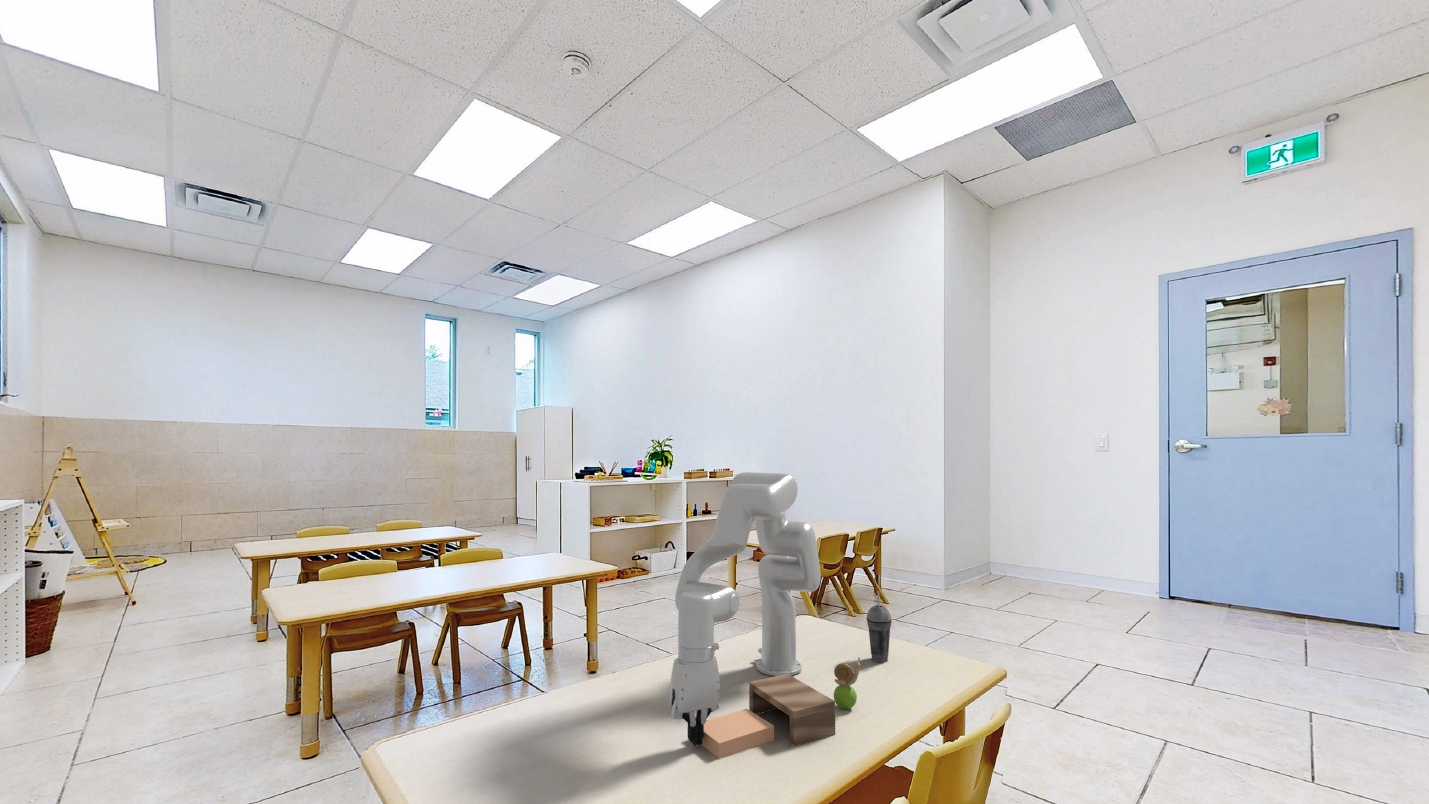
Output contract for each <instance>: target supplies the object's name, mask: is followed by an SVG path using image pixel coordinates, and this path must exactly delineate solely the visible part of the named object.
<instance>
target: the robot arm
mask: <svg viewBox="0 0 1429 804" xmlns="http://www.w3.org/2000/svg"><path fill="white" fill-rule="evenodd" d="M798 489H799V488H798V483H797V480H796V479H795V477H794V476H793V475H791V474H790V473H789V474H788V473H778V472H777V473H775V472H774V473H771V472H770V473H769V472H740V473H738V474H736V475H735V476H734V477H733V478H732V481H731V485H729V486H728V487H727V488H726V489H725V491H724V492H723V493H724V494H723V497H722V500H721V503H720V507H719V509H718V514H717V516H716V520H715V524H714V527H713V531H712V535H710V538H709V539H708V540H707V541H706V542H704V543H702V545H700V546H699V548H697V549H696V550H695V552H694V553H692V555H691V556H690V557H689V558H688V559H687V561H686V562H685V563H684V565H683V568H682V569H681V570H682V571H681V573H680V576H679V577H680V578H679V580H678V583H677V586H676V591H675V597H674V599H675V601H674V602H675V607H676V609H677V612H678V613H677V614H678V618H677V619H678V620H677V622H678V626H677V631H678V632H677V636H678V638H677V642H678V644H677V658H674V660H673V663H672V668H671V676H670V684H669V705H670V706H671V707H672V708H671V713H670V714H671V715H670V716H671V717H672V718H673V719H675V720H684V721H685V722H686V723H687V740H688V741H689V742H690V743H691V744H692V746H694V747H698V745H699V746H701V745H702V738H703V737H704V724H705V723H706V720H708V717H709V716H710V715H711V713H713V712H716V711H717V710H719V709H720V706H721V705H720V701H721V681H720V672H719V665H718V659H717V656H716V655H715V652H716V651H718V650H719V648H720V645H719V643H718V642H715V628H714V627H715V624H717V623H721V622H726V621H729V620H731V618H733V617H734V616H735V615H736V614H737V612H738V610H739V607H740V597H739V594H738V591H736V589H734V588H733V587H732V586H728V585H724V584H718V583H710V582H709V583H708V582H703V581H702V582H701V581H700V579H701V577H702V575H703V574H704V573H705V572H706V571H707V569H709V568H710V567H712V566H713V565H715V564H717V563H719V562H722V561H725V560H727V559H730V558H732V557H735V556H737V555H740V554H741V553H743V552H744V551H745V550H746V548H747V544H748V541H749V540H748V539H749V535H750V532H751V528H752V524H753V521H754V523H755V530H756V535H757V541H758V545H759V548H760V550H761V551H762V552H763V553H764V554H766V555H764V556H763V557H762V558H761V559H760V560H759V562H758V565H757V566H758V568H757V571H758V578H759V584H760V593H761V594H760V595H761V647H759V648H758V650H757V652H758V653H759V654H760V658H761V659H759V660H758V661H757V662H756V669H757V671H758V672H760V673H762V674H764V675H767V676H770V677H775V676H780V675H784V674H789V675H791V676H795V675H797V674H799V673H800V672H801V671H802V668H803V666H802V663H801V662H800V661H799V660H797V621H796V620H797V618H796V617H797V615H796V612H797V611H796V610H797V609H796V607H797V606H796V603H795V600H794V598H793V595H792V594H791V593H790V591H793V592H799V593H800V592H802V593H813V592H815V591H817V589H818V588H819V587H820V584H821V576H822V575H821V566H820V557H819V552H818V544H817V538H816V537H817V536H816V532H815V531H814V528H813V527H812V525H810V524H809V523H807V522H804V521H792V520H791V521H789V520H787V518H786V512H787V511H788V510H789V509H790V508H791V507H792V506H793V505H794V503H795V501H796V500H797V496H798ZM702 746H703V745H702Z"/></svg>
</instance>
